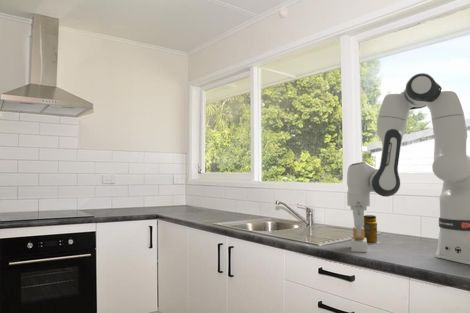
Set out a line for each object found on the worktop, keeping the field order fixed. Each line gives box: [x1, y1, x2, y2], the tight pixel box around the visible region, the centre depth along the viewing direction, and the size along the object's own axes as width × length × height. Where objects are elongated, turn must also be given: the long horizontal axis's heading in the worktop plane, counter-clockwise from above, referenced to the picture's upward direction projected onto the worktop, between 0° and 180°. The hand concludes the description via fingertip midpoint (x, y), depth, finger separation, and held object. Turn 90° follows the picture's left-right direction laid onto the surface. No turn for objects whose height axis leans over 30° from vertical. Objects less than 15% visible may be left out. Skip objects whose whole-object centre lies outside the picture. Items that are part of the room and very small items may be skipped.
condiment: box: [362, 214, 382, 245], centre depth 170 cm, size 7×8×12 cm
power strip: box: [350, 236, 368, 253], centre depth 154 cm, size 10×6×4 cm, turn 162°
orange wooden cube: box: [352, 226, 364, 239], centre depth 156 cm, size 4×4×4 cm
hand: (358, 235), depth 153 cm, fingers closed
